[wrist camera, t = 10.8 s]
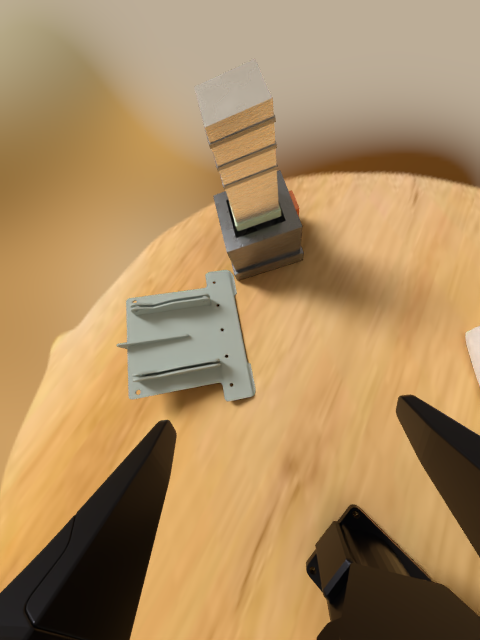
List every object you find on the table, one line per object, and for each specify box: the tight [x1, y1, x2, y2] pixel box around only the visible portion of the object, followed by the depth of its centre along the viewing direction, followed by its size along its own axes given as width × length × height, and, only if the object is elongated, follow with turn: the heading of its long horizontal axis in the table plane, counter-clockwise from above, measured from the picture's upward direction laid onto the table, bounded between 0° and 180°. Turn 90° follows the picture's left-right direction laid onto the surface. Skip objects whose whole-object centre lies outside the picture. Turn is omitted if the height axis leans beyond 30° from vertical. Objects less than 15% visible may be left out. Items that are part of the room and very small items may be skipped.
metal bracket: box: [117, 270, 256, 401], centre depth 24 cm, size 14×6×15 cm
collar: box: [214, 170, 304, 281], centre depth 24 cm, size 8×8×6 cm
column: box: [194, 59, 281, 231], centre depth 17 cm, size 4×4×9 cm
